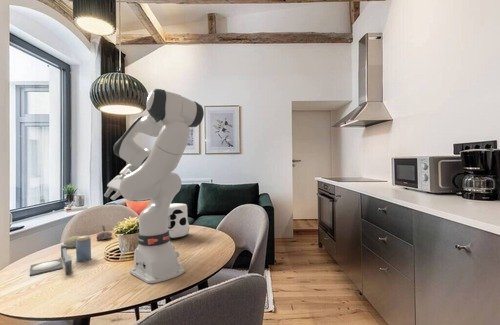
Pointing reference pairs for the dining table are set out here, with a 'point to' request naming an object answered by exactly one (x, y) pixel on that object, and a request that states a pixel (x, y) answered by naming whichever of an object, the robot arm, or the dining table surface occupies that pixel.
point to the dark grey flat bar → (66, 260)
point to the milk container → (178, 220)
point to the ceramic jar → (83, 248)
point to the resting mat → (45, 267)
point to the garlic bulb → (104, 234)
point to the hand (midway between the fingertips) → (108, 197)
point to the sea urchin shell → (71, 241)
